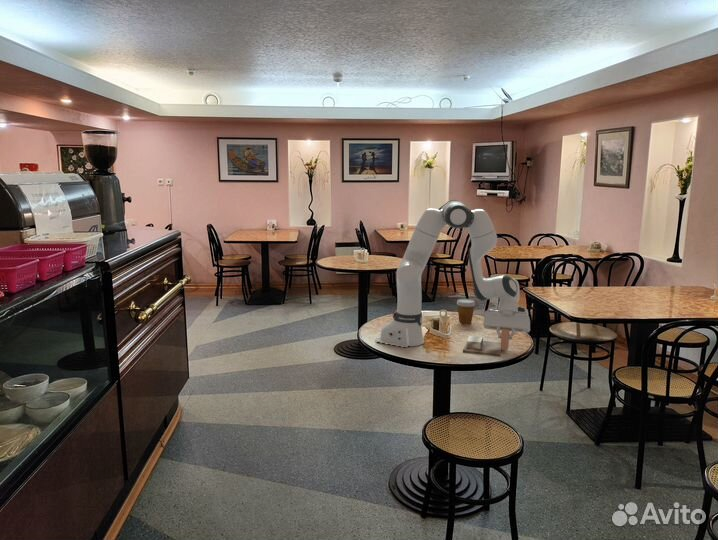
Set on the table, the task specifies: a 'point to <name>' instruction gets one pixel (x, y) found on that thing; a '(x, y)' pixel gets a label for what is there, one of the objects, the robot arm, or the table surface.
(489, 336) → the table surface
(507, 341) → the terracotta tab
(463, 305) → the disposable coffee cup
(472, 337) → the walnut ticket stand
